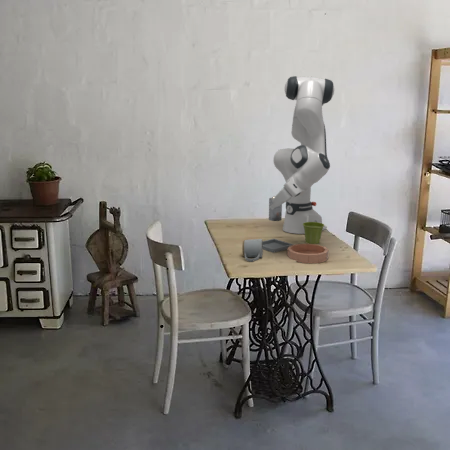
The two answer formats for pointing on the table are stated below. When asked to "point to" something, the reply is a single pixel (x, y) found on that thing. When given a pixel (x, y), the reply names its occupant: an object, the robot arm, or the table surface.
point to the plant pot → (313, 232)
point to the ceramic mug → (252, 249)
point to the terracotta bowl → (308, 253)
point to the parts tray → (275, 245)
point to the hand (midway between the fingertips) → (274, 206)
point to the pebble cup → (275, 211)
